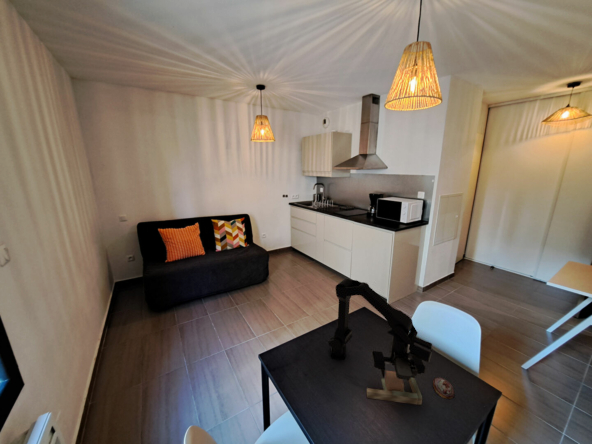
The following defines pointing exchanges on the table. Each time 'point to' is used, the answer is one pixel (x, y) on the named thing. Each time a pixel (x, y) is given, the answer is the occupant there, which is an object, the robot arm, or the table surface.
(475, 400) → the table surface
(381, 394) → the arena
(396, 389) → the cube
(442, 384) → the pastry
